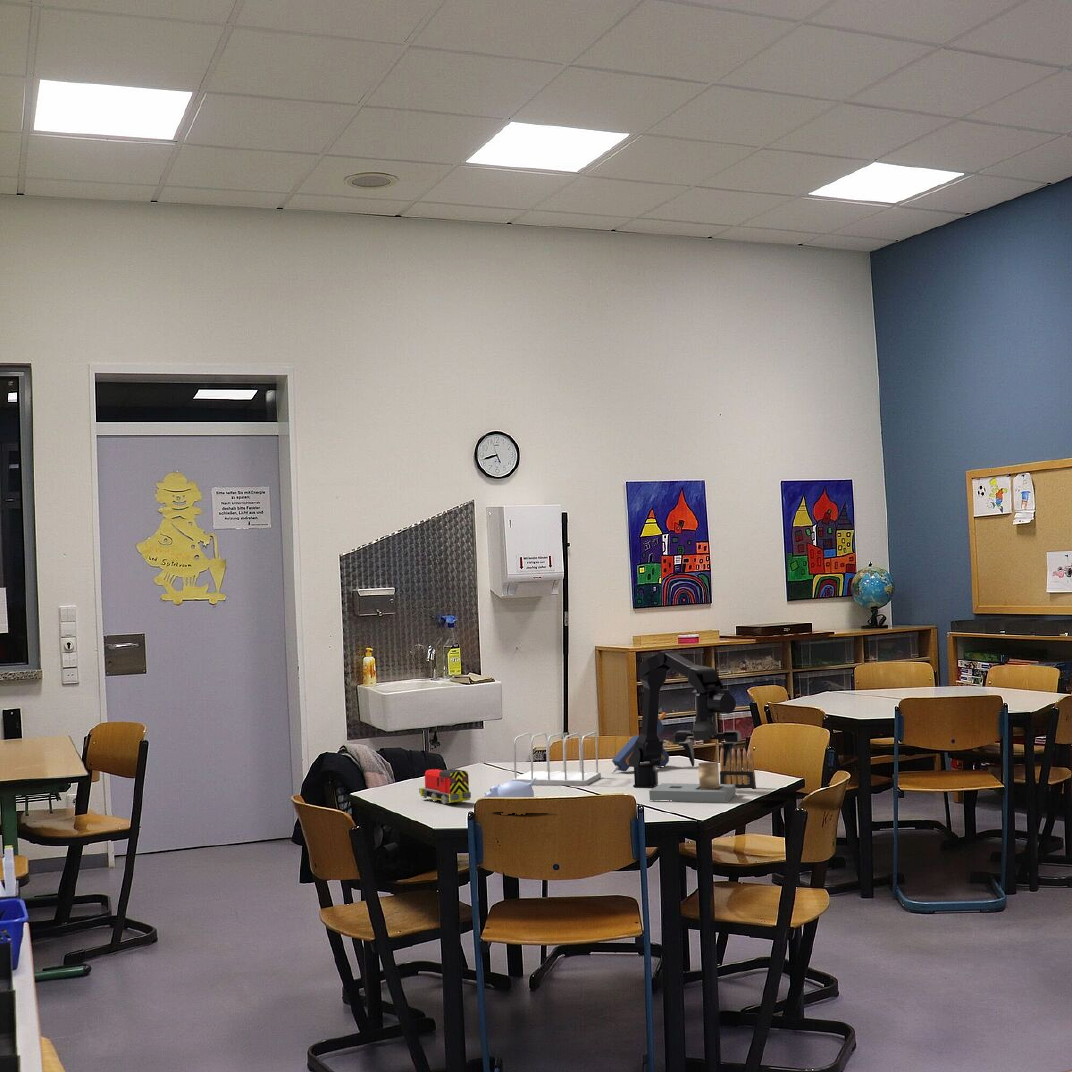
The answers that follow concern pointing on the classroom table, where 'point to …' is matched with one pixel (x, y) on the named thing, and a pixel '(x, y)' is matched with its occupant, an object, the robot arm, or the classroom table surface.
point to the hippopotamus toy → (512, 789)
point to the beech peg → (709, 776)
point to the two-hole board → (692, 793)
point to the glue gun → (628, 749)
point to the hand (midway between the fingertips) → (708, 766)
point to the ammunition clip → (738, 770)
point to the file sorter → (563, 777)
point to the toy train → (446, 785)
